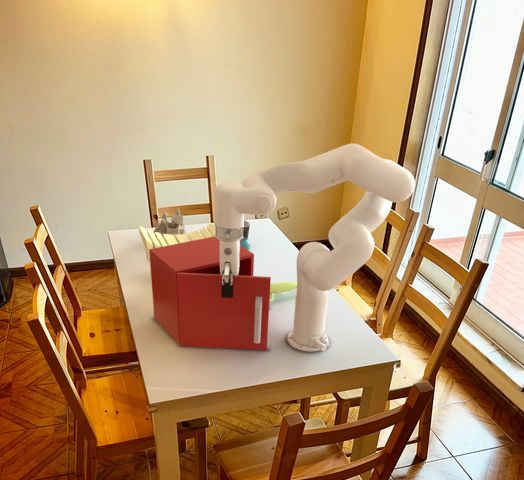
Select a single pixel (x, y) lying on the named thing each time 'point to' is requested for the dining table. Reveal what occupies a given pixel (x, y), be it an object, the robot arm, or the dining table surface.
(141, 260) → the dining table surface
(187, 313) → the fridge door
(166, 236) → the slatted curved stool
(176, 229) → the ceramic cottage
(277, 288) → the figurine
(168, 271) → the box
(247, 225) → the coffee mug
